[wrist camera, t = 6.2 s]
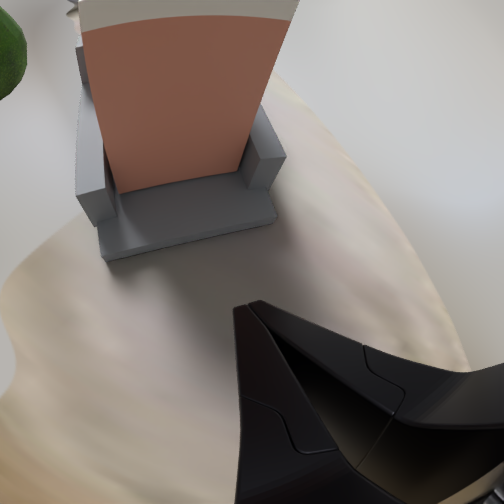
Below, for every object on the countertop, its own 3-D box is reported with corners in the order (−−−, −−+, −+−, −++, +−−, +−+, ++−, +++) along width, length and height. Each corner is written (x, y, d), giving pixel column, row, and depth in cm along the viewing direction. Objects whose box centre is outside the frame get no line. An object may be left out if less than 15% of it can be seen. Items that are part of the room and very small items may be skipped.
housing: (277, 222, 17) (327, 151, 11) (100, 263, 14) (52, 200, 8) (221, 87, 21) (239, 17, 14) (93, 107, 17) (79, 34, 11)
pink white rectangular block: (236, 171, 17) (301, -5, 6) (119, 194, 14) (78, 1, 4) (216, 114, 18) (254, -36, 8) (113, 131, 16) (96, -29, 5)
